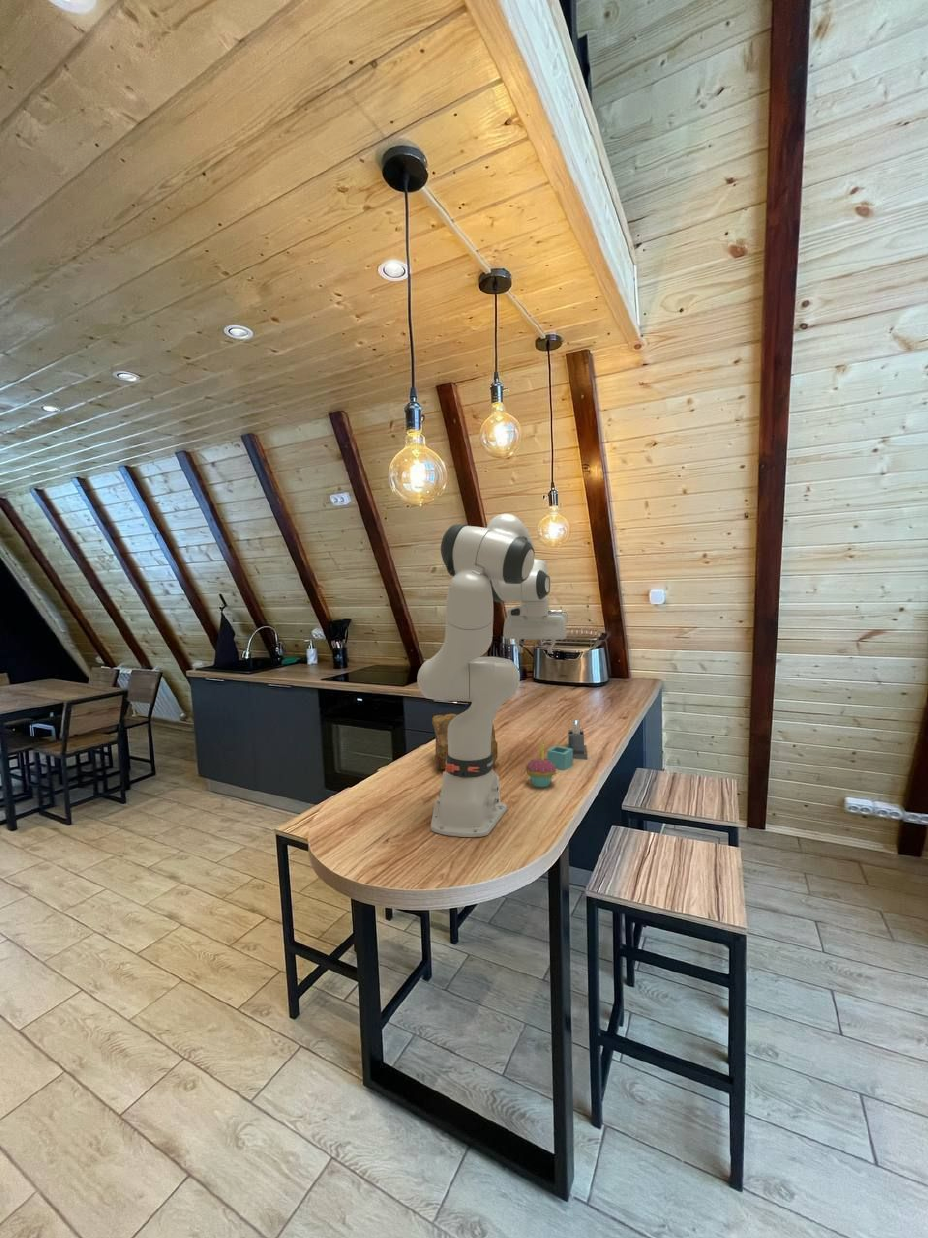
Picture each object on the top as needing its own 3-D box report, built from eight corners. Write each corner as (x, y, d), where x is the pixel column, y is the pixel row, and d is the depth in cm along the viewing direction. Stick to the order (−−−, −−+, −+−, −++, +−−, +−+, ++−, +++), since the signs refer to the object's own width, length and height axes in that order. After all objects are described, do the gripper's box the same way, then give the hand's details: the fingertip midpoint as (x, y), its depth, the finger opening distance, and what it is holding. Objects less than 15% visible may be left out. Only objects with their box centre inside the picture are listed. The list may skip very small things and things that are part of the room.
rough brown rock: (412, 769, 156) (409, 724, 153) (441, 750, 170) (440, 708, 167) (475, 786, 143) (474, 738, 141) (501, 764, 157) (500, 719, 155)
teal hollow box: (572, 764, 156) (572, 748, 155) (565, 770, 151) (565, 754, 151) (555, 760, 159) (555, 745, 159) (547, 766, 154) (547, 750, 154)
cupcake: (531, 776, 146) (531, 737, 145) (559, 781, 142) (559, 740, 142) (522, 787, 139) (521, 745, 138) (551, 792, 135) (551, 749, 134)
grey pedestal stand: (587, 759, 160) (587, 724, 159) (565, 758, 162) (565, 723, 161) (586, 746, 173) (586, 714, 172) (565, 745, 174) (565, 713, 173)
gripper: (567, 609, 158) (568, 652, 159) (504, 609, 163) (505, 651, 164) (567, 610, 152) (567, 654, 153) (502, 610, 156) (502, 653, 157)
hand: (535, 653), depth 158 cm, fingers open, 8 cm apart
